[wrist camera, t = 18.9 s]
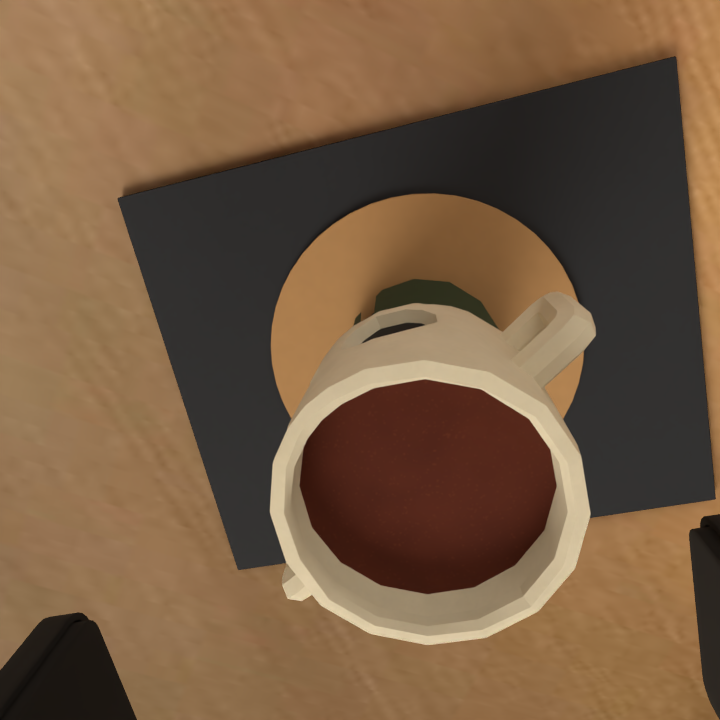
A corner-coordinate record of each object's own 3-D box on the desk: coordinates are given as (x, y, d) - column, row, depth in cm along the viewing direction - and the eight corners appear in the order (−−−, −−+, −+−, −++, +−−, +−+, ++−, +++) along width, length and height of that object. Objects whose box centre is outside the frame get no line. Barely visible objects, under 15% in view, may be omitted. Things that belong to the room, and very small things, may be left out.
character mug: (456, 191, 24) (491, 211, 12) (583, 316, 25) (742, 457, 13) (276, 383, 27) (152, 561, 15) (395, 488, 28) (375, 740, 16)
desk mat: (240, 565, 31) (236, 574, 30) (121, 197, 26) (113, 198, 25) (712, 495, 27) (719, 503, 27) (672, 57, 23) (679, 54, 22)
